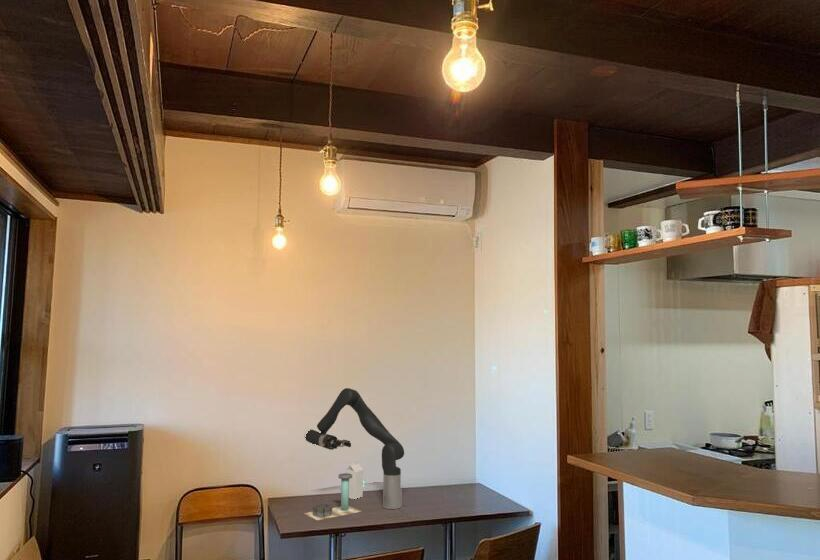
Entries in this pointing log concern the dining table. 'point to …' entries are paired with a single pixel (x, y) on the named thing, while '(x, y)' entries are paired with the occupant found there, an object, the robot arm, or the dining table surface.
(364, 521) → the dining table surface
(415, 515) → the dining table surface
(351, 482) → the milk carton
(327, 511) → the eye board
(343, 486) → the wheel peg
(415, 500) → the dining table surface
